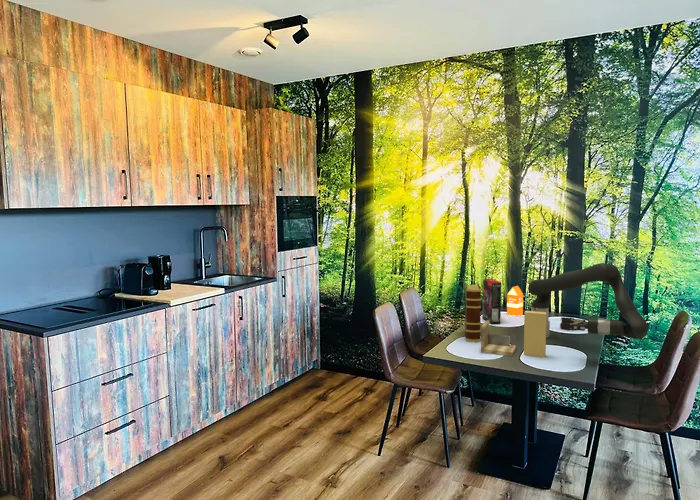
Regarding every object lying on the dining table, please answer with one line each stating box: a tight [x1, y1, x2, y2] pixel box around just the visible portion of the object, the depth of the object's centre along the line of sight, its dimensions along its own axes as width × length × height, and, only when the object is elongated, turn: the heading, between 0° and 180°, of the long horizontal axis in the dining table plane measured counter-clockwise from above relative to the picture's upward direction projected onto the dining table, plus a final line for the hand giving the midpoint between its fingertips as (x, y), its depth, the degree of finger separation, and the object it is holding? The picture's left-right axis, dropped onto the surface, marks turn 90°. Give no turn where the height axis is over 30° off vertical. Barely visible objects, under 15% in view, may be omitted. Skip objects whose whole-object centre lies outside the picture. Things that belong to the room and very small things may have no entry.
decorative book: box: [464, 283, 482, 343], centre depth 278 cm, size 22×8×30 cm, turn 168°
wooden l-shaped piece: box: [480, 320, 517, 357], centre depth 251 cm, size 16×14×14 cm
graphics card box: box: [481, 278, 502, 325], centre depth 315 cm, size 17×7×27 cm, turn 5°
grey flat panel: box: [488, 333, 511, 346], centre depth 255 cm, size 11×2×5 cm, turn 63°
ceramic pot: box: [559, 316, 575, 331], centre depth 294 cm, size 18×18×7 cm
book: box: [523, 310, 547, 358], centre depth 242 cm, size 4×10×22 cm, turn 63°
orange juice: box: [506, 285, 524, 317], centre depth 334 cm, size 8×9×20 cm
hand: (561, 323), depth 236 cm, fingers open, 8 cm apart
